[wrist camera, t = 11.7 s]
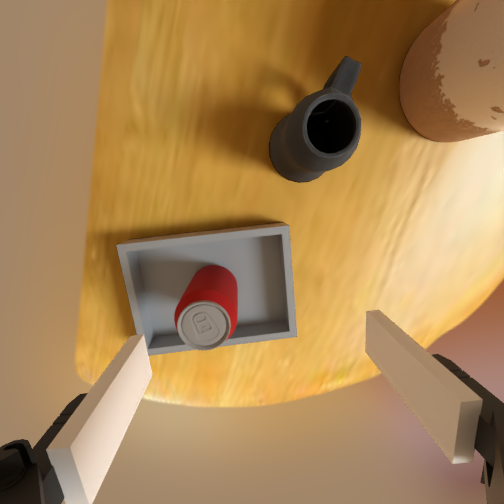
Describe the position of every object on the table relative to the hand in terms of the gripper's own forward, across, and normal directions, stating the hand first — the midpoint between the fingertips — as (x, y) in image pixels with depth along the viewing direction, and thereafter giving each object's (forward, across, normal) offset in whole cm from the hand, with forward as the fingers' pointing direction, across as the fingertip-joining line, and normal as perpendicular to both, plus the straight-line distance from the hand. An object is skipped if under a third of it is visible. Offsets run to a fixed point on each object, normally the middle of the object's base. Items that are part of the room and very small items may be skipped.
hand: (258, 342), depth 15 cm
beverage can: (+22, -5, -4) cm, 23 cm away
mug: (+24, +9, +15) cm, 29 cm away
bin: (+23, -5, -4) cm, 24 cm away
